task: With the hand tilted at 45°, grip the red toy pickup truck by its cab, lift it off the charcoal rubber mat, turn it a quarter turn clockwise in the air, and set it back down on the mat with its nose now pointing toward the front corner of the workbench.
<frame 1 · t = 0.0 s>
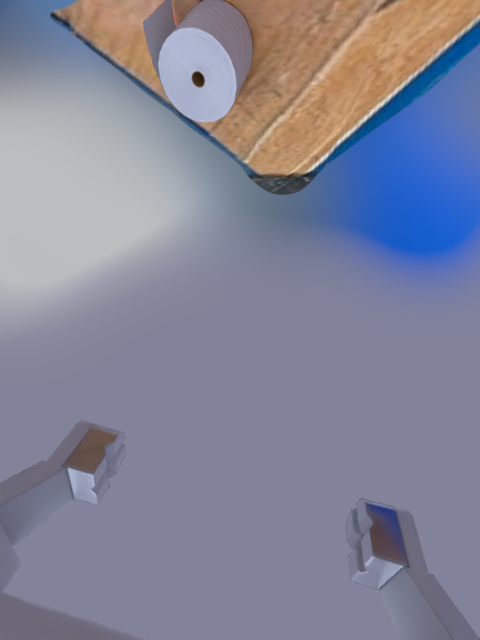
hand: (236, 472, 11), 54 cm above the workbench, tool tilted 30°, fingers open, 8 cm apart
toilet tissue: (214, 46, 46), on the workbench
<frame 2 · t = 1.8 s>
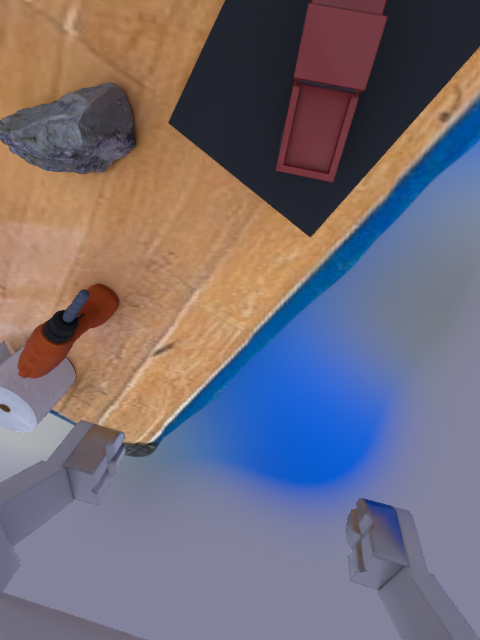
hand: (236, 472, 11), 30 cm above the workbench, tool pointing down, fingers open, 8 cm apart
toilet tissue: (45, 365, 56), on the workbench
toy pickup truck: (304, 170, 32), resting on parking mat
toy drill: (114, 286, 44), on the workbench
mineral rock: (82, 127, 34), on the workbench
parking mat: (313, 76, 28), on the workbench
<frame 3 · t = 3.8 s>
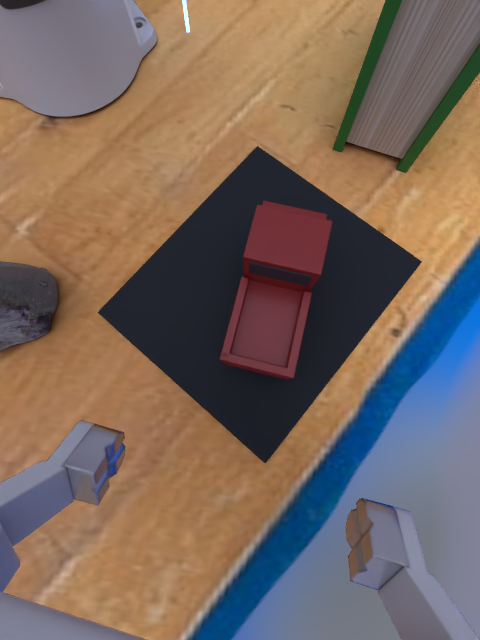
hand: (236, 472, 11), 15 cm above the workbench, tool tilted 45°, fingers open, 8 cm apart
toy pickup truck: (254, 373, 26), resting on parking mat
hardback book: (393, 93, 32), on the workbench
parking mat: (260, 288, 28), on the workbench
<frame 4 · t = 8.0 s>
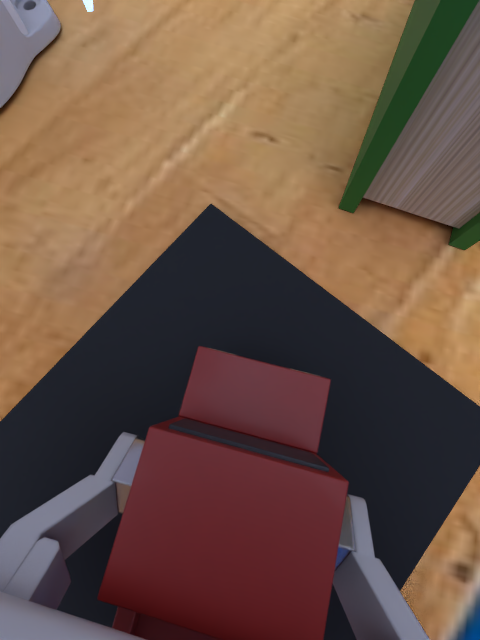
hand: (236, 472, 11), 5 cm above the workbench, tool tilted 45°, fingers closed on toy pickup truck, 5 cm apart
hardback book: (435, 113, 20), on the workbench
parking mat: (208, 472, 15), on the workbench
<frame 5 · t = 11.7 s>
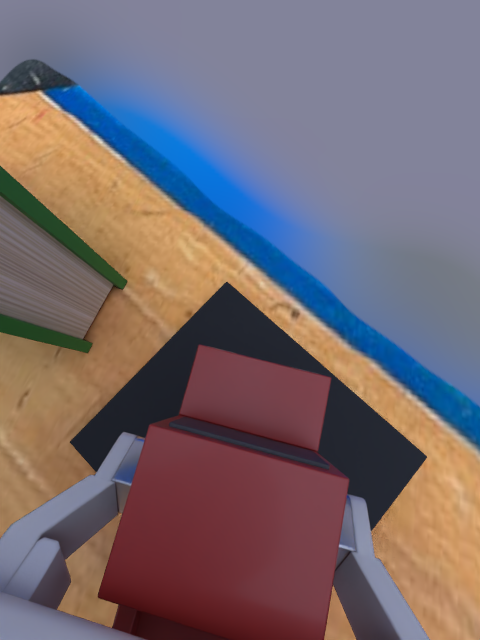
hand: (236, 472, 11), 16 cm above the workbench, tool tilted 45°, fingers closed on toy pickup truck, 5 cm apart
hardback book: (29, 280, 30), on the workbench
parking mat: (244, 448, 26), on the workbench
when the fingers open (5 cm above the workbench, at t = 15.5 s): toy pickup truck stays where it is, resting on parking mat.
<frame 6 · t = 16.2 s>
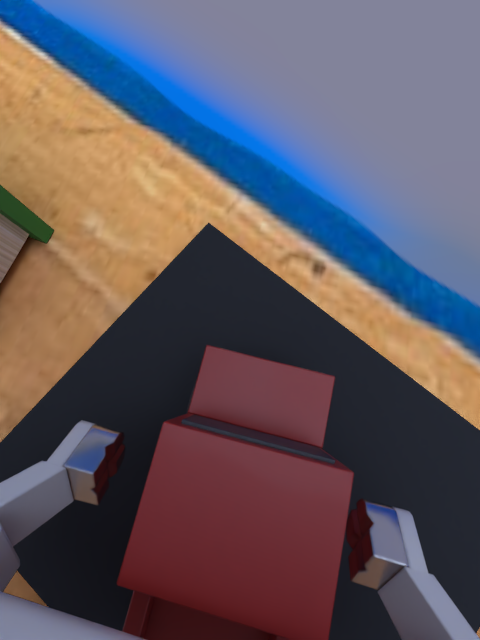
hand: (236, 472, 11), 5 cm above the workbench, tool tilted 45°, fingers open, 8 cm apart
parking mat: (249, 490, 15), on the workbench
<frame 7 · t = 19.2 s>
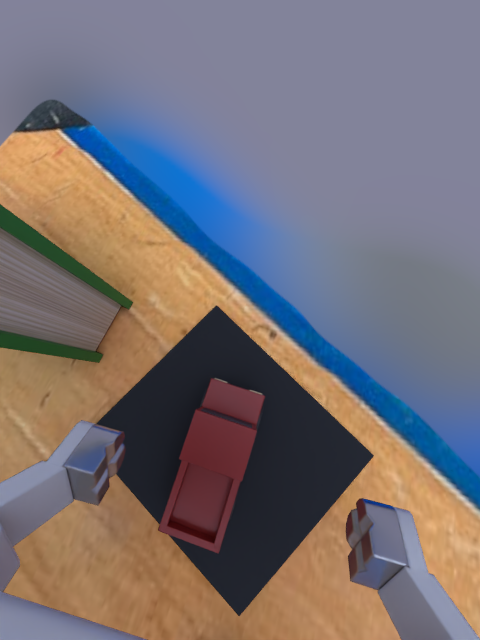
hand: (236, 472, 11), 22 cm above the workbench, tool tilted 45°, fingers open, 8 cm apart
toy pickup truck: (196, 517, 30), resting on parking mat
hardback book: (49, 298, 35), on the workbench
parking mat: (226, 445, 32), on the workbench
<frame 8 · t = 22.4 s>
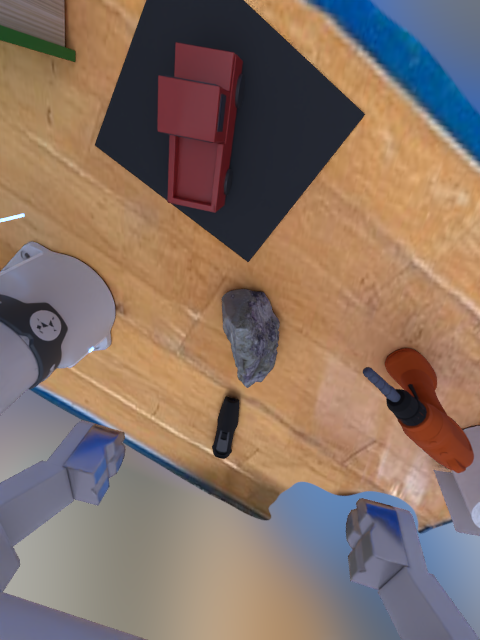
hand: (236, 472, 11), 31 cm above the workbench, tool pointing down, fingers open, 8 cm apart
toy pickup truck: (204, 199, 36), resting on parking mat
electric trimmer: (227, 421, 56), on the workbench
toy drill: (390, 347, 42), on the workbench
mineral rock: (250, 327, 45), on the workbench
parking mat: (218, 131, 33), on the workbench
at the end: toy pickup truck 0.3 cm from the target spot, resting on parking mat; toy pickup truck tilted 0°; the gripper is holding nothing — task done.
